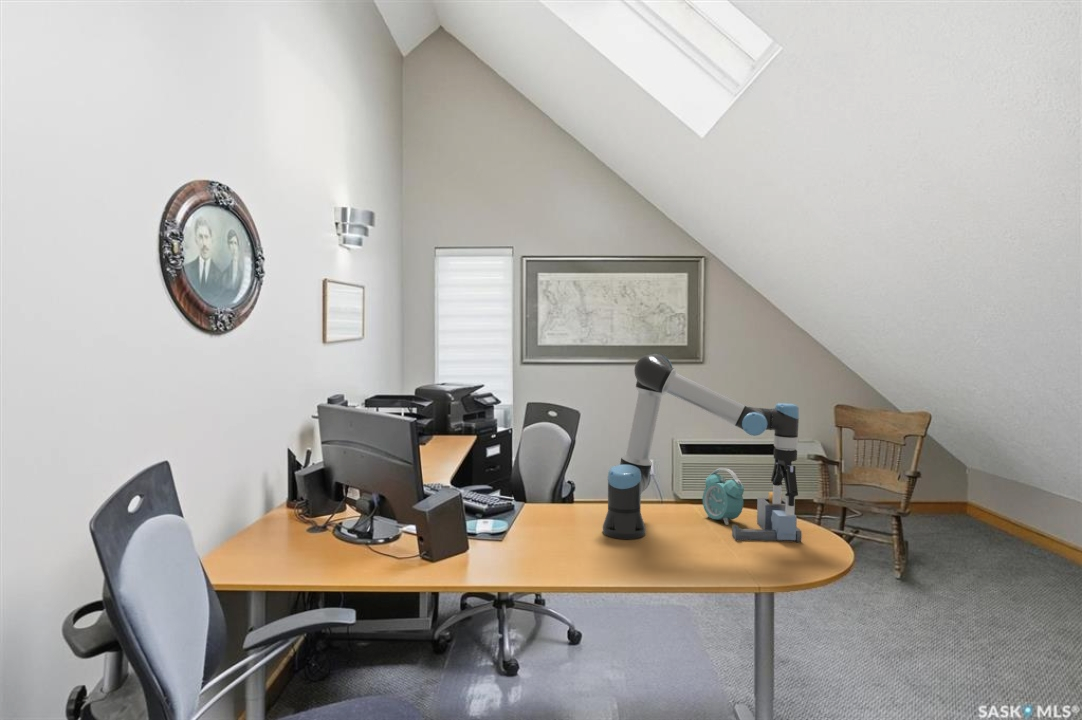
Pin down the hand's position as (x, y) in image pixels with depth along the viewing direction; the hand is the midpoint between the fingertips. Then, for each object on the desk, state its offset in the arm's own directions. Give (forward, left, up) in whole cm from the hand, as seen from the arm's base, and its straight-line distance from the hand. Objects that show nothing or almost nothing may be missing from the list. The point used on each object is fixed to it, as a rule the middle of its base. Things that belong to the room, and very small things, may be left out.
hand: (782, 509), depth 207 cm
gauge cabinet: (+1, +13, -11) cm, 17 cm away
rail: (-6, 0, -11) cm, 12 cm away
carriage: (0, 0, -10) cm, 10 cm away
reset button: (+1, +13, -1) cm, 13 cm away
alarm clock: (-16, +22, -11) cm, 29 cm away
